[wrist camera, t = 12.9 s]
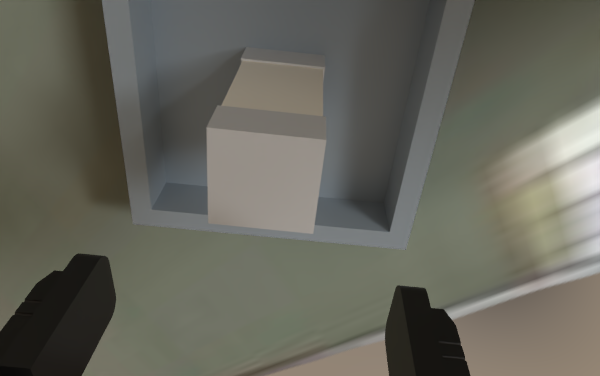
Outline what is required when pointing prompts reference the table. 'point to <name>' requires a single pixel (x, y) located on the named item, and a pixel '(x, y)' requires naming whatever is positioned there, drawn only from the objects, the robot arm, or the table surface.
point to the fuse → (268, 143)
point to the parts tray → (336, 102)
